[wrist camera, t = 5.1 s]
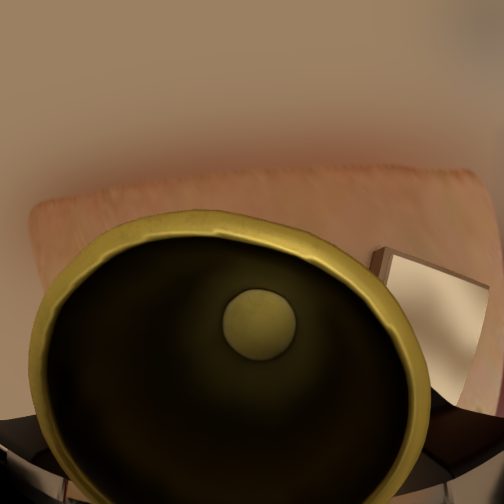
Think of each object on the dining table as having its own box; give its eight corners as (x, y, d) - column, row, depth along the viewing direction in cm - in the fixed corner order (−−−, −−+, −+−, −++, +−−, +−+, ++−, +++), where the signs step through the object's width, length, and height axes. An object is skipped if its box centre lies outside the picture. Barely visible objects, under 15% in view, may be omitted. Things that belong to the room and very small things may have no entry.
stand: (437, 406, 17) (454, 416, 14) (330, 389, 19) (339, 404, 16) (473, 287, 19) (493, 285, 16) (373, 251, 20) (388, 245, 17)
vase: (206, 276, 17) (7, 206, 3) (306, 269, 17) (443, 157, 3) (213, 373, 16) (72, 531, 2) (312, 368, 16) (414, 547, 2)
